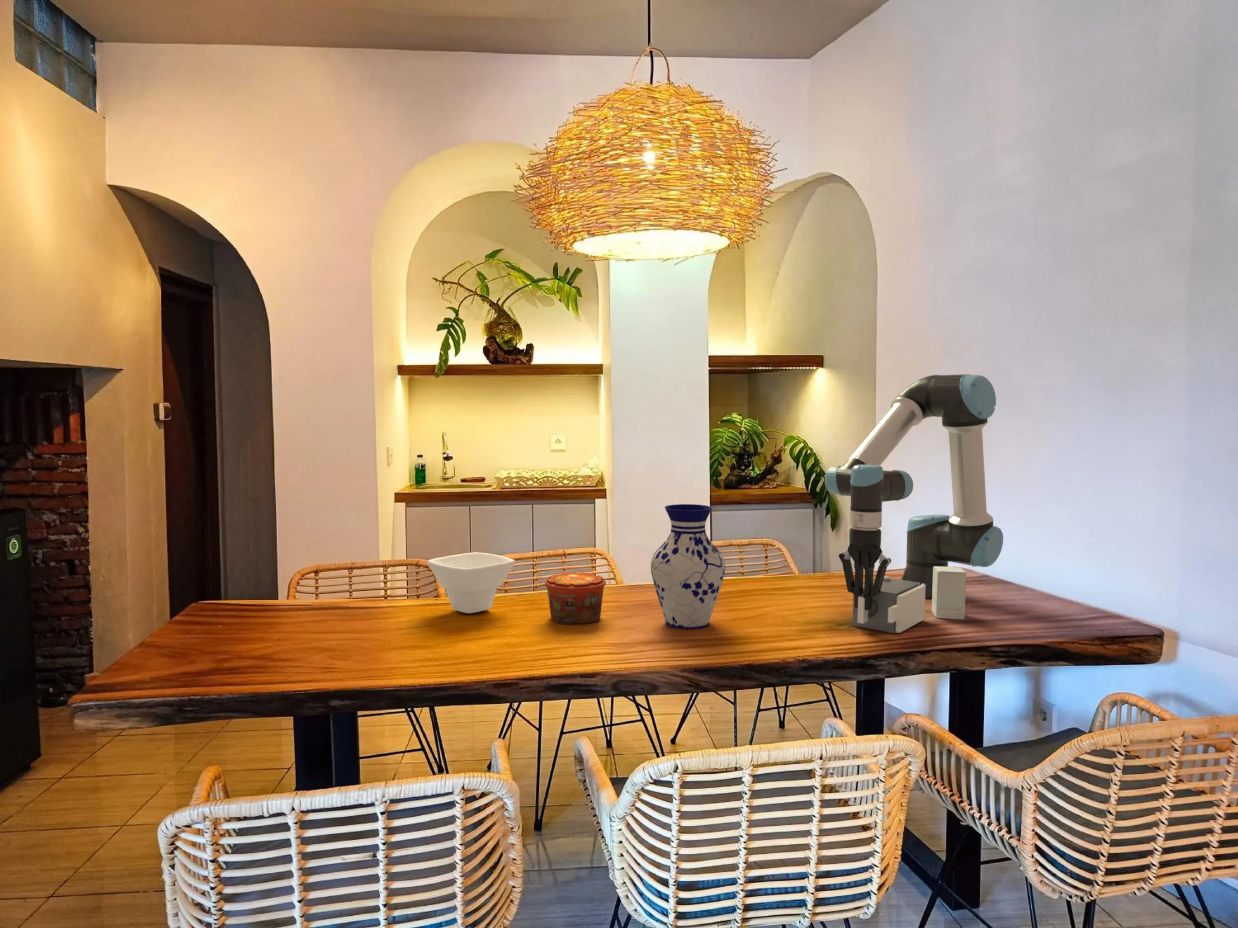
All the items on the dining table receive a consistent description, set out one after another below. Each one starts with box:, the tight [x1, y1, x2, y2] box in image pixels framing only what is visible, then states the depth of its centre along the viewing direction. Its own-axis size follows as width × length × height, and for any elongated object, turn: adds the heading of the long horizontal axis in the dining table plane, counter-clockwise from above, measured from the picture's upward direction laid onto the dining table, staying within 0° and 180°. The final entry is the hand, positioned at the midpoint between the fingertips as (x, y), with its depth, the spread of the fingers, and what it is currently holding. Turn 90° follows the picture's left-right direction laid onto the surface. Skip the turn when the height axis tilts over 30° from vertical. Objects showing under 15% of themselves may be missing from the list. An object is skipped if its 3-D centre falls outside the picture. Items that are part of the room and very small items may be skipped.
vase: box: [650, 503, 726, 630], centre depth 218 cm, size 19×19×30 cm
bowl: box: [426, 551, 516, 614], centre depth 230 cm, size 19×19×14 cm
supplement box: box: [931, 566, 967, 620], centre depth 228 cm, size 7×7×13 cm
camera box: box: [852, 575, 920, 634], centre depth 220 cm, size 17×11×11 cm, turn 140°
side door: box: [888, 584, 926, 634], centre depth 215 cm, size 22×1×10 cm, turn 140°
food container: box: [544, 571, 607, 626], centre depth 224 cm, size 16×16×11 cm
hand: (862, 621), depth 213 cm, fingers closed
